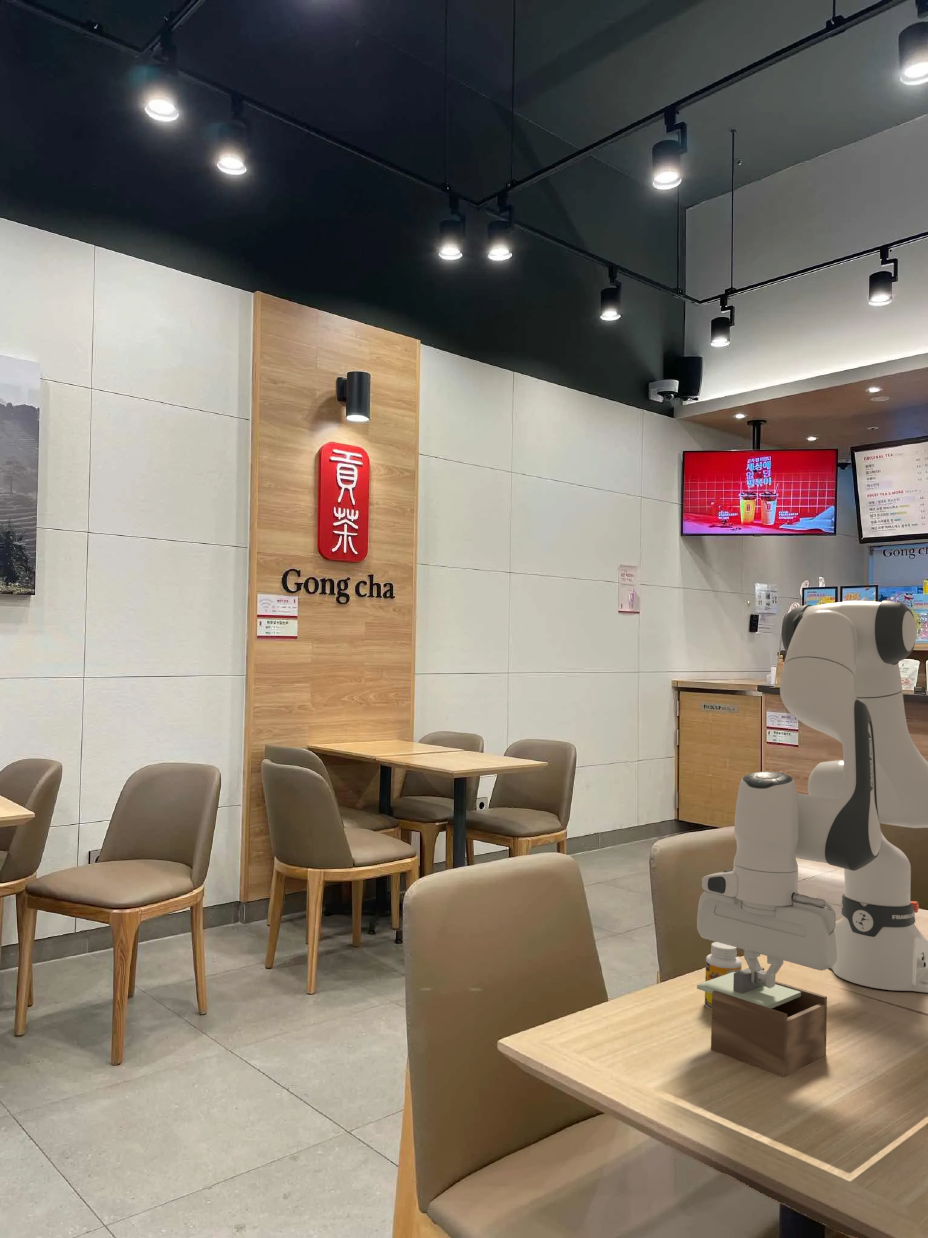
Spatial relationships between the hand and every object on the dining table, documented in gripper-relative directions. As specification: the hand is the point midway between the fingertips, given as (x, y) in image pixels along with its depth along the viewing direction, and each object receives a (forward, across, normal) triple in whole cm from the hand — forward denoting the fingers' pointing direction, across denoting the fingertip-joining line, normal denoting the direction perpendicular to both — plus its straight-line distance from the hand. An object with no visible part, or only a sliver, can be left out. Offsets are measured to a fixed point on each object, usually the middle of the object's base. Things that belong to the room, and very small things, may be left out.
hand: (763, 985), depth 130 cm
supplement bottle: (+10, +13, -11) cm, 20 cm away
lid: (+2, +2, 0) cm, 3 cm away
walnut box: (+10, -1, 0) cm, 10 cm away
